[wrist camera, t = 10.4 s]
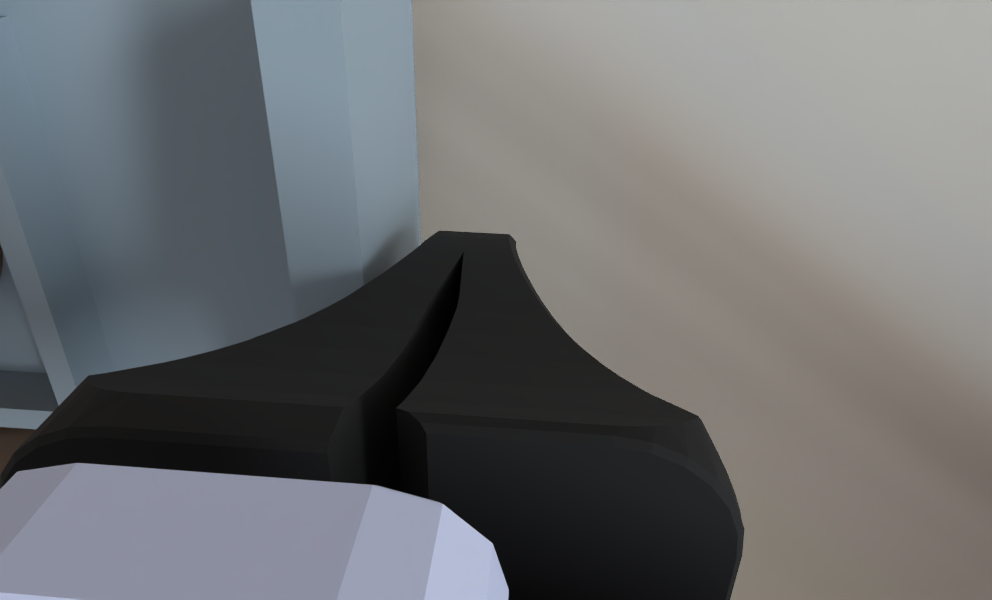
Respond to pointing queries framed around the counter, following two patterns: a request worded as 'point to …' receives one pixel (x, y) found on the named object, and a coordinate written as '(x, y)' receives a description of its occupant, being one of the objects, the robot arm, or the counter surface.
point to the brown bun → (1, 259)
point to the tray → (192, 177)
